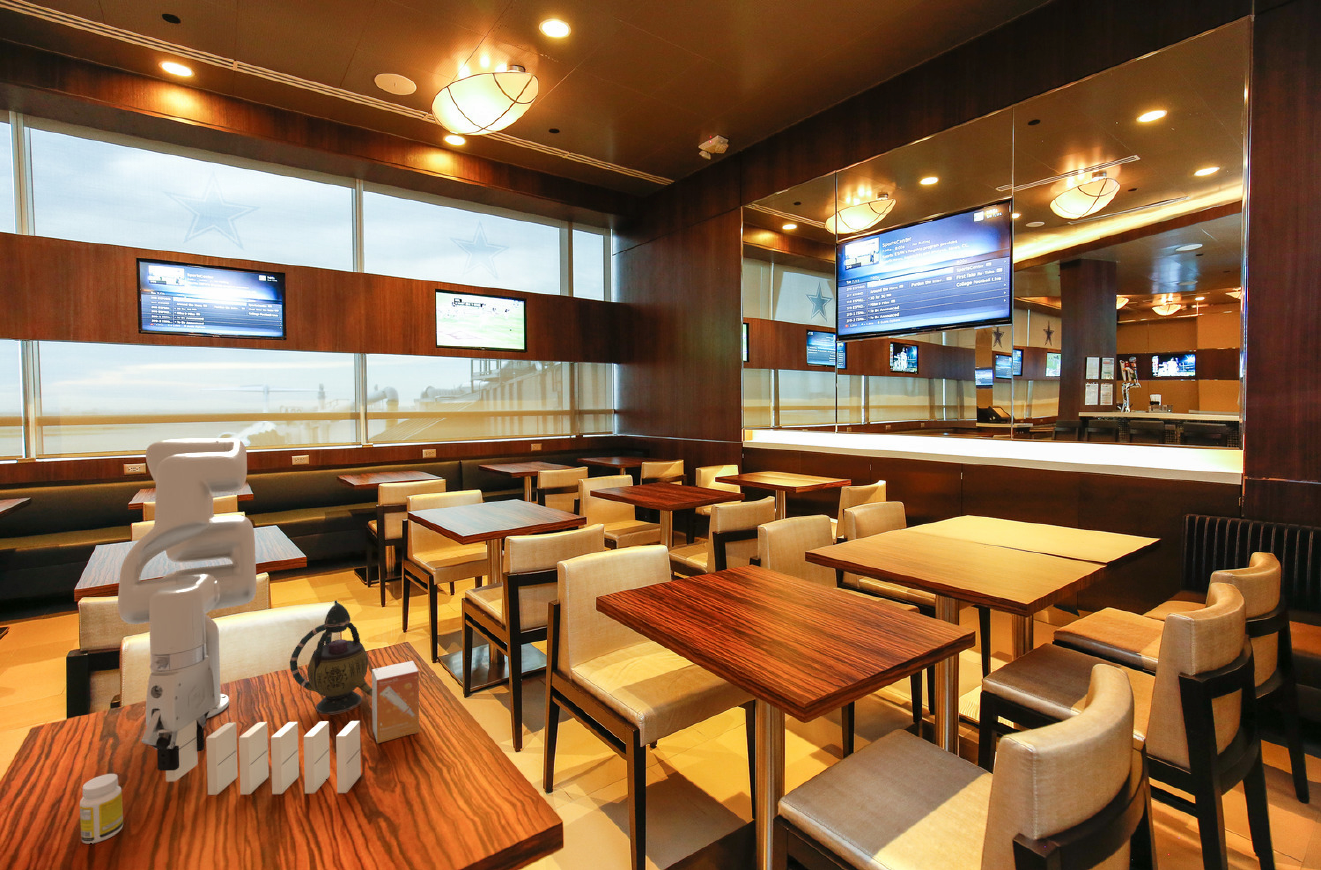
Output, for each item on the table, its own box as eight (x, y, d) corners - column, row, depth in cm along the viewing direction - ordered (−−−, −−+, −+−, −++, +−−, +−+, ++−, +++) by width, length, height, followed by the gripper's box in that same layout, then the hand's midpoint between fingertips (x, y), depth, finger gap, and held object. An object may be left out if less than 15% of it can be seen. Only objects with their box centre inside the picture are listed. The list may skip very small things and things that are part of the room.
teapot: (333, 686, 142) (331, 591, 141) (415, 704, 133) (413, 602, 133) (285, 710, 131) (283, 606, 130) (372, 731, 122) (370, 619, 121)
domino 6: (337, 792, 102) (336, 736, 102) (351, 775, 107) (350, 721, 107) (346, 792, 102) (345, 735, 102) (360, 775, 107) (359, 720, 107)
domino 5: (304, 793, 102) (303, 736, 102) (320, 775, 107) (319, 721, 107) (314, 793, 102) (313, 736, 102) (330, 775, 107) (328, 721, 107)
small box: (376, 744, 117) (375, 680, 117) (372, 730, 122) (371, 668, 122) (420, 732, 121) (419, 670, 121) (413, 719, 127) (413, 659, 126)
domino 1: (165, 781, 101) (164, 723, 101) (188, 764, 106) (187, 709, 106) (175, 781, 101) (174, 723, 101) (197, 764, 106) (196, 709, 106)
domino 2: (207, 794, 102) (206, 737, 101) (228, 776, 107) (227, 722, 106) (217, 794, 102) (215, 737, 101) (237, 776, 107) (236, 722, 106)
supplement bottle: (127, 819, 95) (126, 768, 95) (117, 838, 91) (115, 785, 91) (88, 829, 93) (86, 777, 93) (75, 848, 89) (73, 794, 89)
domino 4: (272, 794, 102) (270, 737, 101) (289, 776, 107) (288, 722, 106) (281, 793, 102) (280, 737, 101) (299, 776, 107) (297, 721, 106)
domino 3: (240, 794, 102) (238, 737, 101) (259, 776, 107) (258, 722, 106) (250, 794, 102) (248, 737, 101) (268, 776, 107) (267, 722, 106)
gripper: (160, 678, 95) (163, 789, 95) (234, 638, 112) (237, 733, 112) (112, 678, 95) (116, 790, 95) (194, 639, 112) (197, 734, 112)
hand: (181, 758), depth 104 cm, fingers closed on domino 1, 4 cm apart
